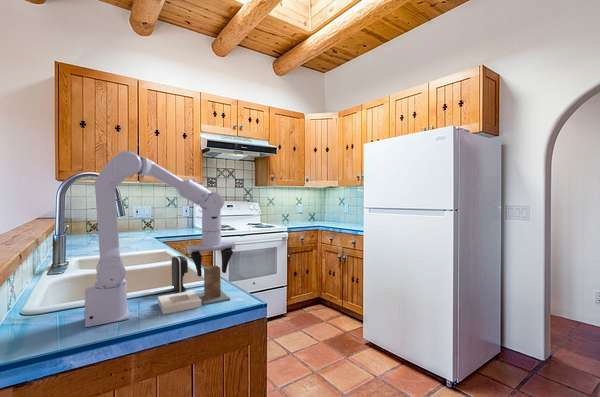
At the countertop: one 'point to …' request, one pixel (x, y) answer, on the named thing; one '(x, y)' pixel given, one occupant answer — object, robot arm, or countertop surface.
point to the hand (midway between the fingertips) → (212, 274)
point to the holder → (179, 302)
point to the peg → (212, 282)
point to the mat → (212, 300)
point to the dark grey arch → (179, 272)
